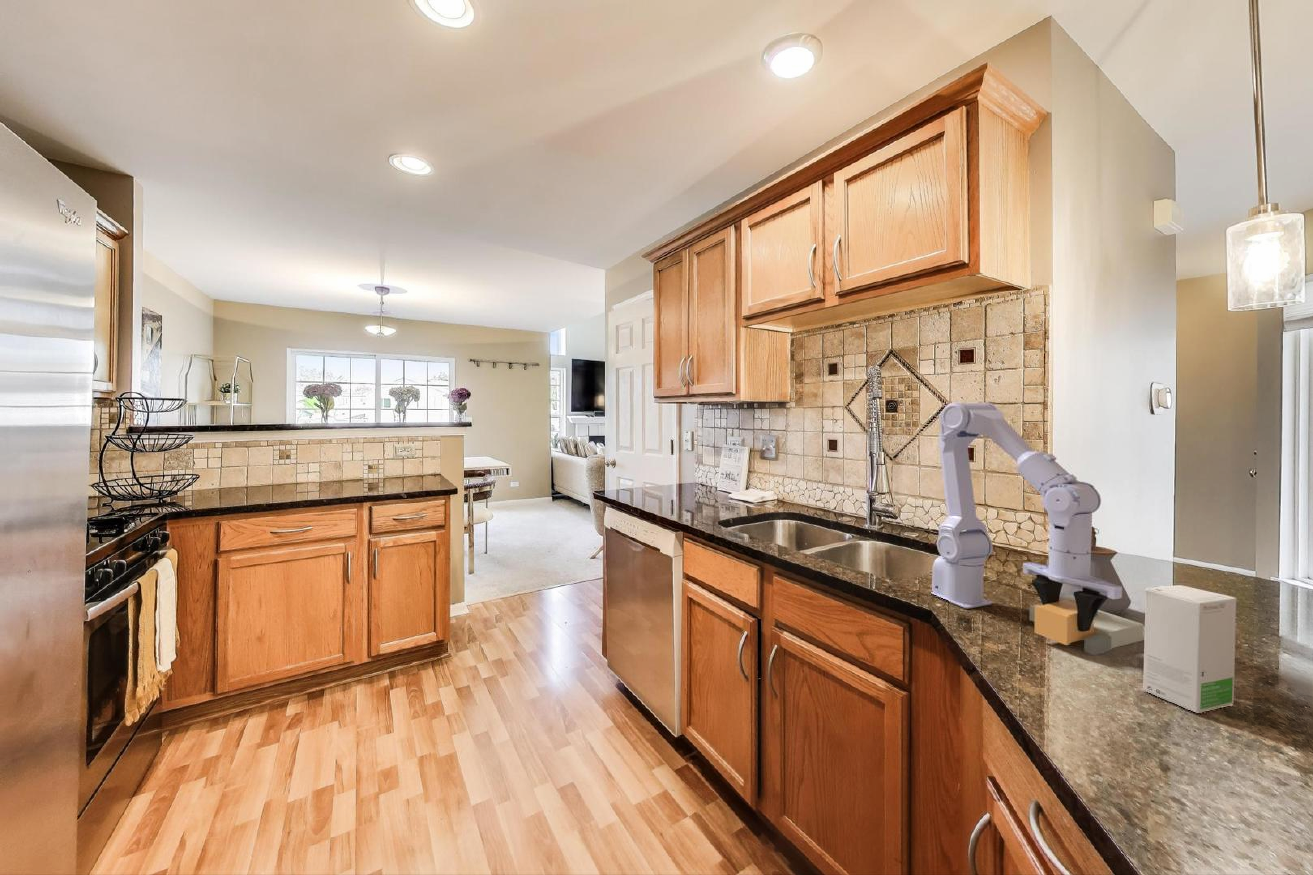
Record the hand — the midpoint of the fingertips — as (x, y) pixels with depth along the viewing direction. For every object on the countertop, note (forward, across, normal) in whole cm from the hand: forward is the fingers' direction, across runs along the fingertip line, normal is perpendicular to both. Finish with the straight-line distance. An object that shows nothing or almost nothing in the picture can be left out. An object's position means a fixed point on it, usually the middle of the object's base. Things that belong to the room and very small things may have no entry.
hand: (1067, 624), depth 87 cm
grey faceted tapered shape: (+4, -11, +27) cm, 29 cm away
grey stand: (+3, -2, +7) cm, 8 cm away
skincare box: (+4, +17, -3) cm, 18 cm away
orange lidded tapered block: (+2, 0, 0) cm, 2 cm away
